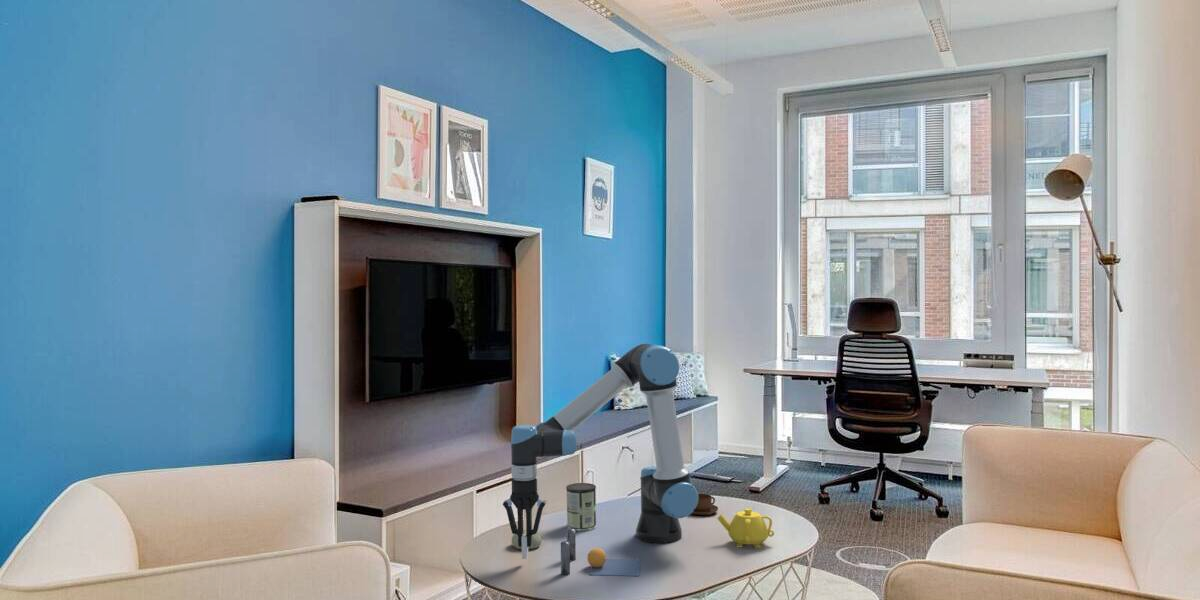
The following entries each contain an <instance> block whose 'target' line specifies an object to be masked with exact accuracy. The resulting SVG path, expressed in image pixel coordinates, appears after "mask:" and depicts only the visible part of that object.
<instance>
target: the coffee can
mask: <svg viewBox="0 0 1200 600" xmlns="http://www.w3.org/2000/svg"><path fill="white" fill-rule="evenodd" d="M565 489H566V521H567V522H566V527H567V528H566V529H569V528H574V529H575V532H586V531H591V530H594V529H596V528H597V503H596V501H597V500H596V496H597V495H596V489H597V487H596V485H595V484H593V483H590V482H589V483H588V482H575V483H571V484H567V485H566V487H565Z"/></svg>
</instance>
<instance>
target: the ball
mask: <svg viewBox="0 0 1200 600" xmlns="http://www.w3.org/2000/svg"><path fill="white" fill-rule="evenodd" d="M606 558H607V555H606V553H605V551H604V550H603V549H602V548H600V547H595V548H592V549H590V551H589V552H588V554H587V562H588V564H589V566H591V568H592V567H595V568H599V567H601V566H603V565H604V563H605V561H606Z"/></svg>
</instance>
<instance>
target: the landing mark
mask: <svg viewBox="0 0 1200 600" xmlns="http://www.w3.org/2000/svg"><path fill="white" fill-rule="evenodd" d="M641 561H642V560H641V558H640V559H639V558H634V559H633V558H607V557H606V561H605V563H604V565H603V566H601V567H599V568H595V567H592V566H591V568H590V571H589V576H607V577H608V576H610V577H611V576H612V577H613V576H614V577H615V576H616V577H639V575H638V574H639V573H640V568H639V567H641Z"/></svg>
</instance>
